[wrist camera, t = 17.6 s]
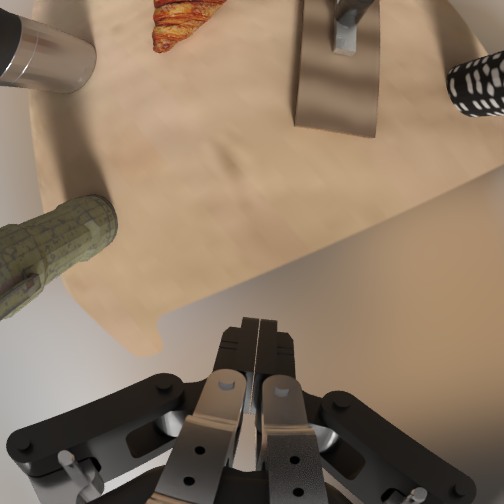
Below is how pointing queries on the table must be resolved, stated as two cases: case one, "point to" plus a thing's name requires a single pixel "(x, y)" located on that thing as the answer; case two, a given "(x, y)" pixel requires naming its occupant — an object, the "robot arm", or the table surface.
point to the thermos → (51, 247)
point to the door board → (338, 73)
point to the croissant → (179, 20)
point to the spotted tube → (478, 86)
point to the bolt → (347, 24)
